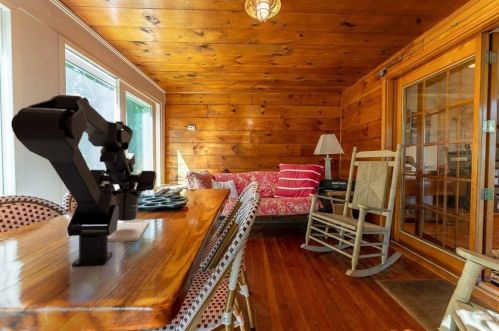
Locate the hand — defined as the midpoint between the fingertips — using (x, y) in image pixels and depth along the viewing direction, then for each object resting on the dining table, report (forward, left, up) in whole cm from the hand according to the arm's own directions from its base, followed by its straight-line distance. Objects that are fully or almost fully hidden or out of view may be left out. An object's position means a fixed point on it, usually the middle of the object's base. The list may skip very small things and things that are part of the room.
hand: (127, 196), depth 85 cm
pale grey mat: (-2, +1, -11) cm, 11 cm away
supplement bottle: (-1, 0, -7) cm, 7 cm away
